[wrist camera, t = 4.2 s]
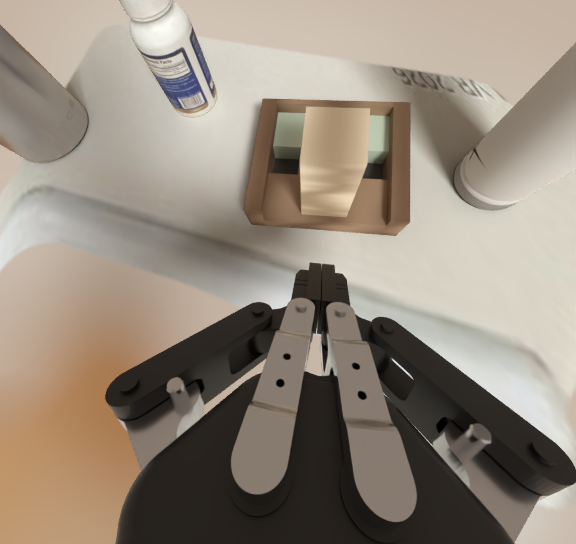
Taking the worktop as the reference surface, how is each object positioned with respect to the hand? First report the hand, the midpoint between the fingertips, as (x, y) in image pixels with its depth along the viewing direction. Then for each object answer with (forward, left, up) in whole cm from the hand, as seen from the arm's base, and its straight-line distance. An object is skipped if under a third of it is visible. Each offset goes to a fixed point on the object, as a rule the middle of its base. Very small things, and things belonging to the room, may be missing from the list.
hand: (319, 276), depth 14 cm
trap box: (0, +12, -7) cm, 14 cm away
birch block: (0, +9, -5) cm, 10 cm away
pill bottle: (-16, +21, -7) cm, 27 cm away
